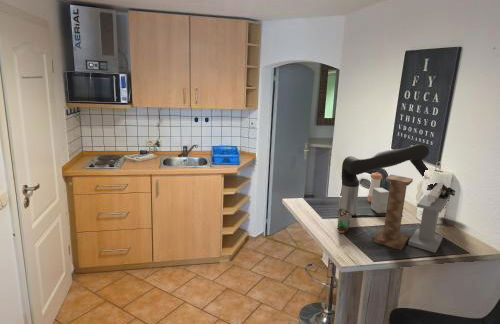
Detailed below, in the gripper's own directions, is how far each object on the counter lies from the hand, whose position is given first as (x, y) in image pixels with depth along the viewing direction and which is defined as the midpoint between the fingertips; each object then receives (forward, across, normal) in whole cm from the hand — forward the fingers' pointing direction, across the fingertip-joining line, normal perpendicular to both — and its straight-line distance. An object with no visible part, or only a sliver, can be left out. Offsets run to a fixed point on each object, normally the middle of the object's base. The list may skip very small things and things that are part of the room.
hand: (439, 185), depth 173 cm
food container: (+11, -36, +36) cm, 52 cm away
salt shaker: (-36, -39, +10) cm, 54 cm away
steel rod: (+4, 0, +6) cm, 7 cm away
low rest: (-2, 0, +29) cm, 29 cm away
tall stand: (+7, -14, +34) cm, 37 cm away
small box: (-24, -31, +16) cm, 42 cm away
